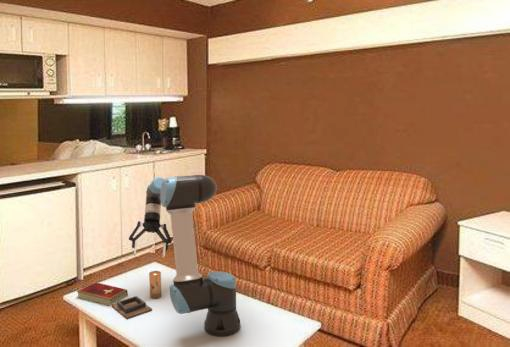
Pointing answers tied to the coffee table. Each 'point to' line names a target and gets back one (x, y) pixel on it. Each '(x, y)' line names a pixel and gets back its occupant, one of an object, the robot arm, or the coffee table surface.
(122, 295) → the hardcover book
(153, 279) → the brushed copper cylinder
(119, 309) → the duct base
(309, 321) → the coffee table surface
